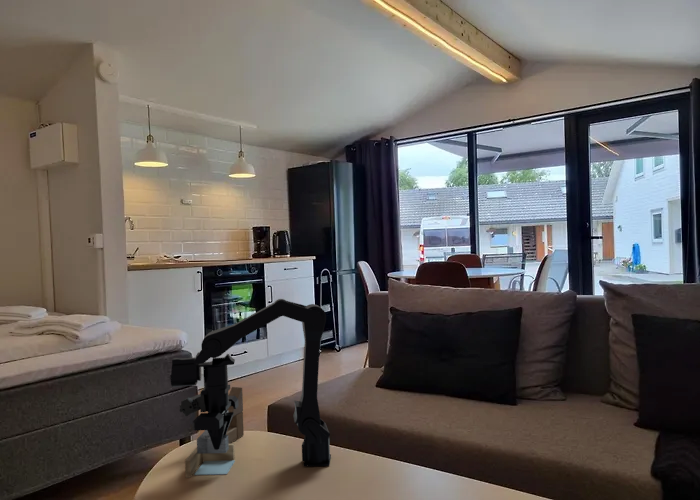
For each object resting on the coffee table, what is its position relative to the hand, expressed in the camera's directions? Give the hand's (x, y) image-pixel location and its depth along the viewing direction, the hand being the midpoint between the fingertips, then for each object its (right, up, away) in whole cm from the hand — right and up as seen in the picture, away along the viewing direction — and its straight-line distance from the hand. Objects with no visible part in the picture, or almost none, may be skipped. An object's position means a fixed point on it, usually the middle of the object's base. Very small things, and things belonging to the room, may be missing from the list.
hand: (218, 447), depth 127 cm
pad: (-1, -6, +3) cm, 7 cm away
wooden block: (-2, -7, +21) cm, 22 cm away
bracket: (-1, -1, +2) cm, 3 cm away
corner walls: (-2, -6, +3) cm, 7 cm away
